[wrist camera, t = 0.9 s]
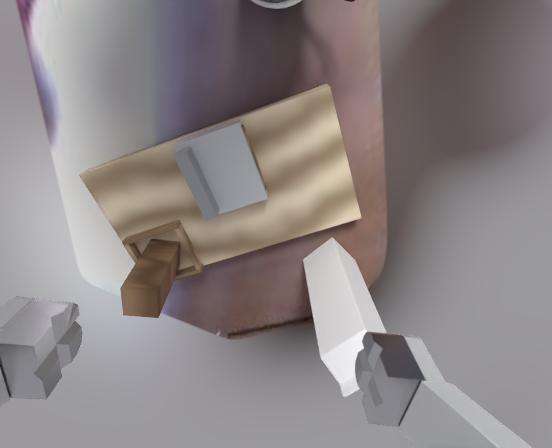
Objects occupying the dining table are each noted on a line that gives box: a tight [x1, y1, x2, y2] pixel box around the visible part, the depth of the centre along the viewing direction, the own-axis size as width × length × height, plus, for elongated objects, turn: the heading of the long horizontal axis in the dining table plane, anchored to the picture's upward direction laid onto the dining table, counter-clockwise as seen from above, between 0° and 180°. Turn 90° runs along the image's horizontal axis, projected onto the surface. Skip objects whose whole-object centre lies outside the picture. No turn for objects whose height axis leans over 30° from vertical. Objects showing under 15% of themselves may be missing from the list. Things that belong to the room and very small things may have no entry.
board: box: [79, 84, 361, 280], centre depth 44 cm, size 18×33×4 cm, turn 109°
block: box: [121, 239, 180, 318], centre depth 42 cm, size 4×4×11 cm
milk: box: [303, 237, 386, 397], centre depth 42 cm, size 6×6×22 cm
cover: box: [174, 119, 268, 221], centre depth 39 cm, size 10×8×5 cm
